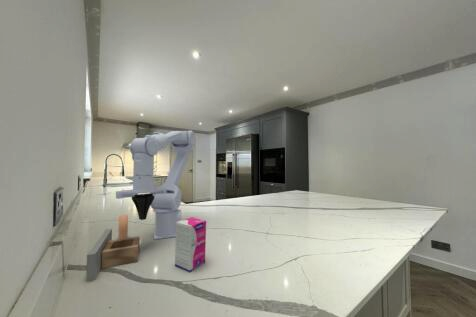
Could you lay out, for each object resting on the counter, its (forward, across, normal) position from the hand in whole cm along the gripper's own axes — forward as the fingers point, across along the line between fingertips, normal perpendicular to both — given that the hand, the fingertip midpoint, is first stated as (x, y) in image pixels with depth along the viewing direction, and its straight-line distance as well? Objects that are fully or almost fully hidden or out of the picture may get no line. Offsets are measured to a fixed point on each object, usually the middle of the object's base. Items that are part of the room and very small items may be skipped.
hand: (142, 219), depth 59 cm
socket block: (+9, +6, +2) cm, 11 cm away
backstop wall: (+10, +10, -1) cm, 14 cm away
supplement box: (+10, -5, +19) cm, 22 cm away
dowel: (+9, +1, -14) cm, 17 cm away
